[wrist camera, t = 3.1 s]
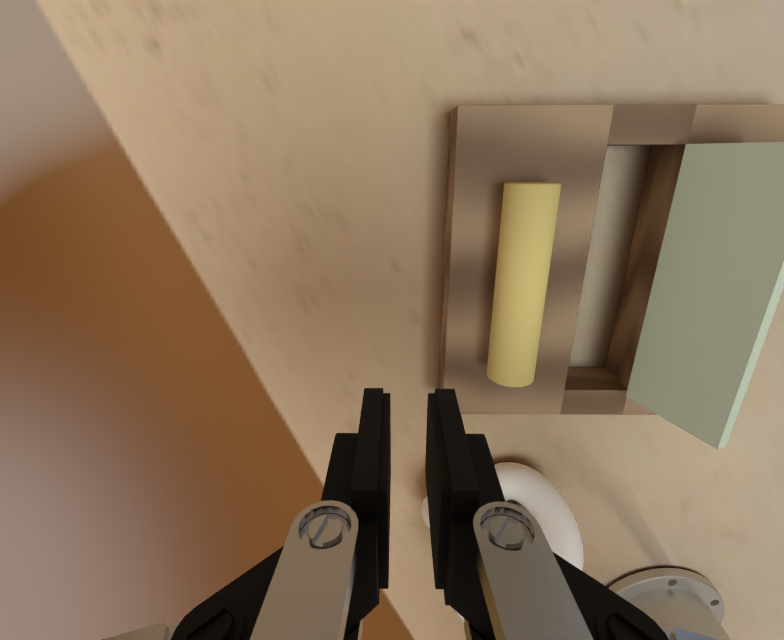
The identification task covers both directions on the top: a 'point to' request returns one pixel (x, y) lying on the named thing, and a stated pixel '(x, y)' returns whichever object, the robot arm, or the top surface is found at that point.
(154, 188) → the top surface
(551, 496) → the white decorative knot
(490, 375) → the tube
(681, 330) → the flap
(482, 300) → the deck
